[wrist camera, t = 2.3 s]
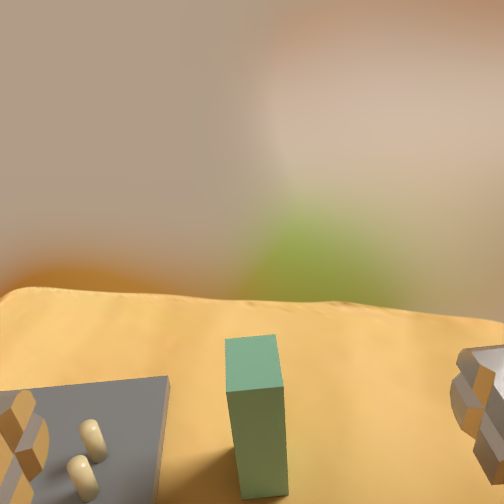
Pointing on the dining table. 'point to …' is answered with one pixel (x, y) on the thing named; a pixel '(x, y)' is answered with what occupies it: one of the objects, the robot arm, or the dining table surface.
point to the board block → (257, 415)
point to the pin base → (102, 441)
